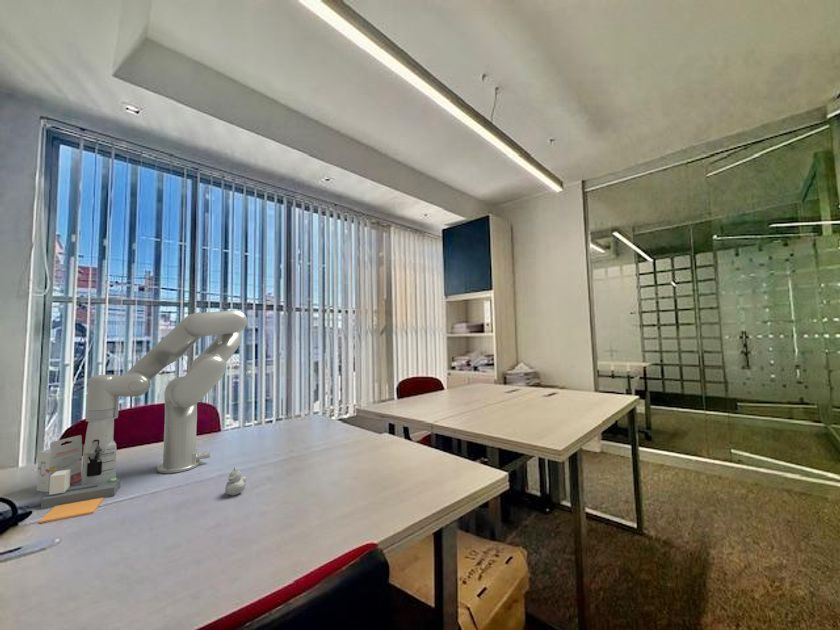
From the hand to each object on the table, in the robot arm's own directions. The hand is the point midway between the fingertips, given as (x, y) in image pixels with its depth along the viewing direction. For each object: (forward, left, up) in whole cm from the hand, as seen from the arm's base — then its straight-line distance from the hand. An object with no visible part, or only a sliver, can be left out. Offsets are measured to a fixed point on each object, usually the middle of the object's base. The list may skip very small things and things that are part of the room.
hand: (98, 470), depth 108 cm
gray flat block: (+1, +9, -4) cm, 10 cm away
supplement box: (0, 0, -5) cm, 5 cm away
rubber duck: (-37, +28, -5) cm, 47 cm away
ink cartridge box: (+10, -5, -5) cm, 12 cm away
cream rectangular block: (+6, +9, -2) cm, 11 cm away
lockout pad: (+1, +18, -4) cm, 18 cm away
